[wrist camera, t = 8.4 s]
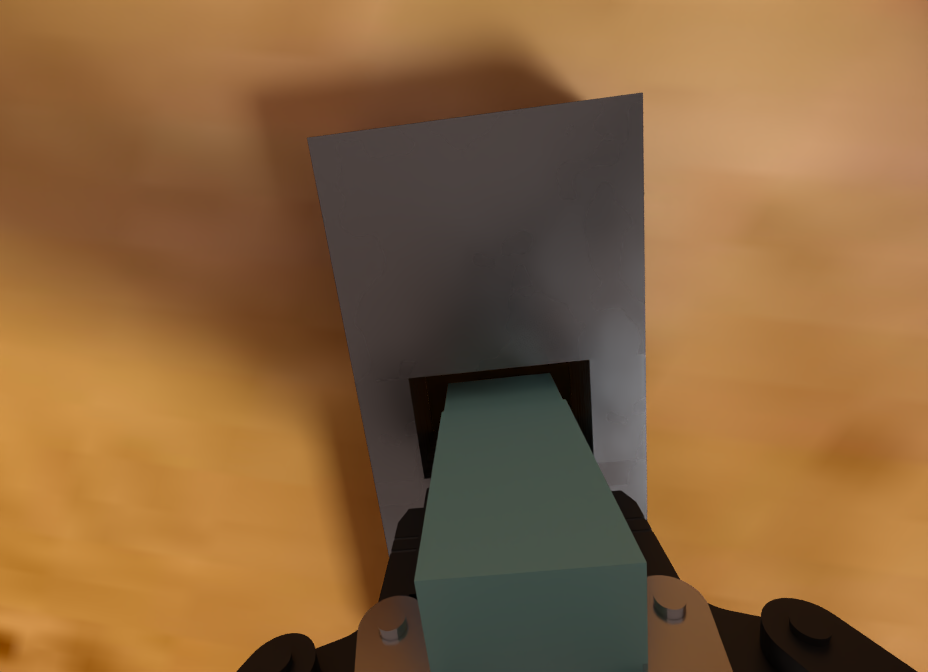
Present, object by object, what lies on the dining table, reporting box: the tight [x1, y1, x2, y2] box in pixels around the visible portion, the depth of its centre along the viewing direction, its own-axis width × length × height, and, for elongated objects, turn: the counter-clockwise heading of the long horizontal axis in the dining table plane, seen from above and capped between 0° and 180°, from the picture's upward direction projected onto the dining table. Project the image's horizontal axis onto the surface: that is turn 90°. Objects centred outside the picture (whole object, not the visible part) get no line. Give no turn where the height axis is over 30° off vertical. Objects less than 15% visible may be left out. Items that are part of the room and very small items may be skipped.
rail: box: [307, 93, 647, 557], centre depth 15 cm, size 20×8×3 cm, turn 7°
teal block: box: [414, 373, 648, 672], centre depth 11 cm, size 6×3×8 cm, turn 7°
